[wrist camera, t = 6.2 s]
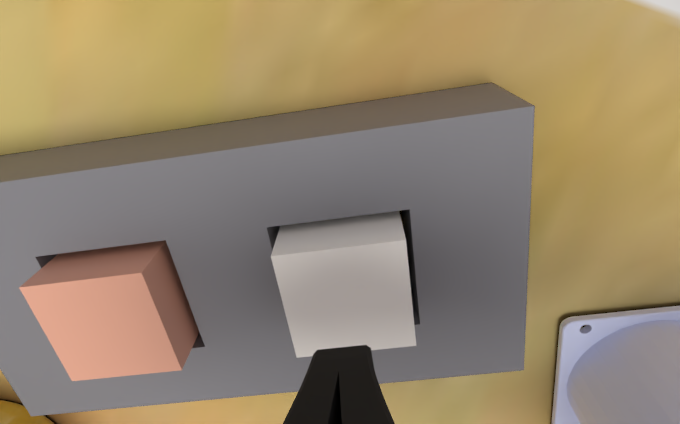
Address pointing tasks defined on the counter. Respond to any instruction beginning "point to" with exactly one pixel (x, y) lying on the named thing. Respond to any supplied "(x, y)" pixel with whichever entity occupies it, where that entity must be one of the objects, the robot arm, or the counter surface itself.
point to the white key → (345, 283)
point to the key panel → (262, 229)
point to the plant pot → (19, 415)
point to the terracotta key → (114, 311)
